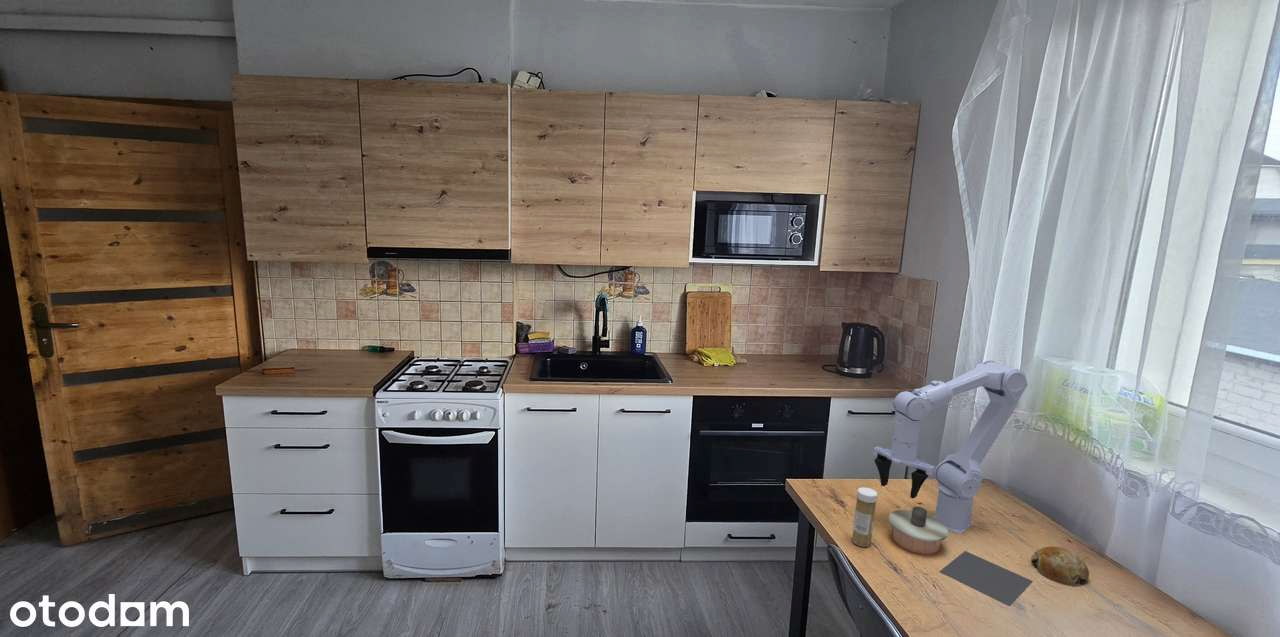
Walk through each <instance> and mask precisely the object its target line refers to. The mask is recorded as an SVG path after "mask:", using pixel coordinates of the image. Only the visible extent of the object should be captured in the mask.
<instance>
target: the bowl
mask: <svg viewBox="0 0 1280 637" xmlns="http://www.w3.org/2000/svg"><path fill="white" fill-rule="evenodd" d="M892 538H893V539H892V540H893V541H894V542H895V543H897V545H899V546H900V547H902V548H904V549H906V550H908V551H911V552H913V553H918V554H923V555H927V554H929V555H930V554H935V553H937V552H938V551H940V547H941V541H923V540H918V539H915V538H912V537H909V536H906V535H904V534H902V533H900V532H899V531H897V530H896V529H894V528H893V532H892Z"/></svg>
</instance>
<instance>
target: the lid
mask: <svg viewBox="0 0 1280 637" xmlns="http://www.w3.org/2000/svg"><path fill="white" fill-rule="evenodd" d="M888 523H889V524H890V526H891V528H893V530H894V529H896V530H897V531H899V532H900V533H902V534H904V535H906V536H909V537H912V538H915V539H918V540H923V541H940V542H941V541H944V540H946V538H948V537H949V536H948V535H949V530H948V529H947V527H946V526H945V525H944V524H943V523H942V522H940V521H939V520H937V519H936V518H934V517H933V516H931V515H930V514H928V510H927V509H925V508H924V507H921V506H913V507H912V509H911V510H909V509H900V510H894V511H891V513H889V515H888Z"/></svg>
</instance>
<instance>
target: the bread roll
mask: <svg viewBox="0 0 1280 637" xmlns="http://www.w3.org/2000/svg"><path fill="white" fill-rule="evenodd" d="M1030 559H1031V560H1030V561H1031V562H1032V564H1033V567H1034V568H1036V570H1037V572H1038V573H1039V574H1041V575H1043V576H1044V577H1046V578H1047V579H1048V580H1050V581H1051V580H1052V581H1053V582H1057V583H1060V584H1062V585H1066V586H1075V587H1082V585H1085V584H1086V583H1087V582H1088V579H1089V577H1090V570H1089V568H1088V566H1087V564H1086V563H1085V561H1084V560H1083V559H1082V558H1081V557H1080V556H1079V554H1078V553H1076V552H1073V551H1071V550H1069V549H1067V548H1064V547H1061V546H1045V547H1042V548H1040V549H1037V550H1035V552H1034V554H1032V555H1031V557H1030Z"/></svg>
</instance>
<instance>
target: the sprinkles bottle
mask: <svg viewBox="0 0 1280 637" xmlns="http://www.w3.org/2000/svg"><path fill="white" fill-rule="evenodd" d="M878 497H879V496H878V492H877V491H876V490H875V489H872V488H869V487H858V489H857V491H856V506H855V510H854V511H855V512H854V517H853V529H852V530H853V531H852V536H851V541H852V542H853V543H854V545H856V546H858V547H861V548H868V547H871V545H872V538H873V533H874V525H875V514H876V505H877V502H878Z"/></svg>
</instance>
